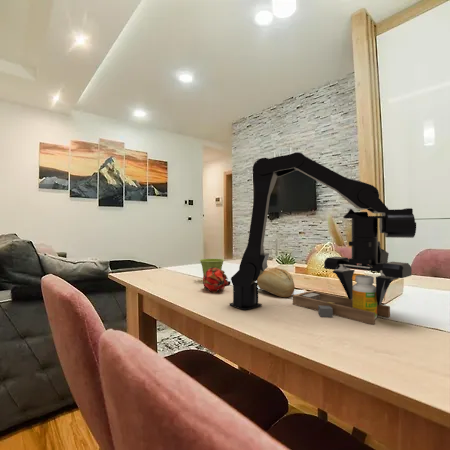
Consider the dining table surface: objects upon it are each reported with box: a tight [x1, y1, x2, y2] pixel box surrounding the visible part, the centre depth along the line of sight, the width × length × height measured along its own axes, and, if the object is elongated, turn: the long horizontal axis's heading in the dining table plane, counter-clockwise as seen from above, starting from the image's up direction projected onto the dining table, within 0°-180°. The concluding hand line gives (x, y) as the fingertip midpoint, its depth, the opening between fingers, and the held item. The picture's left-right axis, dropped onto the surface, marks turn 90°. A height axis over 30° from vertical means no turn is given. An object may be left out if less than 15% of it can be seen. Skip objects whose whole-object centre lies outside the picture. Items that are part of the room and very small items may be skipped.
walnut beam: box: [292, 290, 391, 326], centre depth 77 cm, size 9×22×3 cm, turn 39°
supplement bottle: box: [352, 274, 378, 319], centre depth 72 cm, size 5×5×10 cm
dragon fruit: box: [202, 267, 232, 294], centre depth 100 cm, size 8×8×12 cm
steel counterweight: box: [302, 293, 320, 300], centre depth 83 cm, size 5×2×2 cm, turn 129°
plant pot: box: [199, 258, 225, 275], centre depth 115 cm, size 9×9×9 cm
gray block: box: [317, 305, 334, 318], centre depth 73 cm, size 3×3×2 cm
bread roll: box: [256, 267, 296, 298], centre depth 96 cm, size 10×15×8 cm, turn 30°
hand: (364, 301), depth 72 cm, fingers open, 7 cm apart
